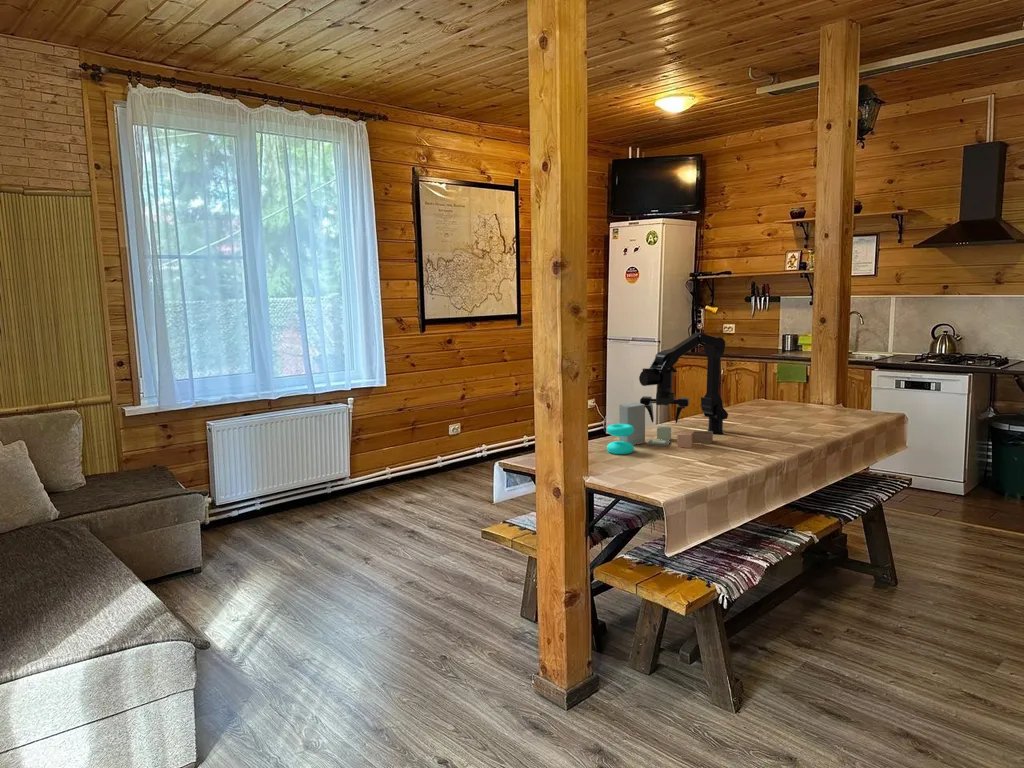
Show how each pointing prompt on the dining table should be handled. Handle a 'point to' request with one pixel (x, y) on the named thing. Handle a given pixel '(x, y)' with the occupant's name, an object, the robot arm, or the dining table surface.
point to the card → (658, 442)
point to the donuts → (620, 446)
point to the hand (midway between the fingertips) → (664, 422)
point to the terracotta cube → (684, 439)
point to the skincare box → (633, 421)
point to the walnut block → (702, 437)
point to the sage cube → (664, 432)
